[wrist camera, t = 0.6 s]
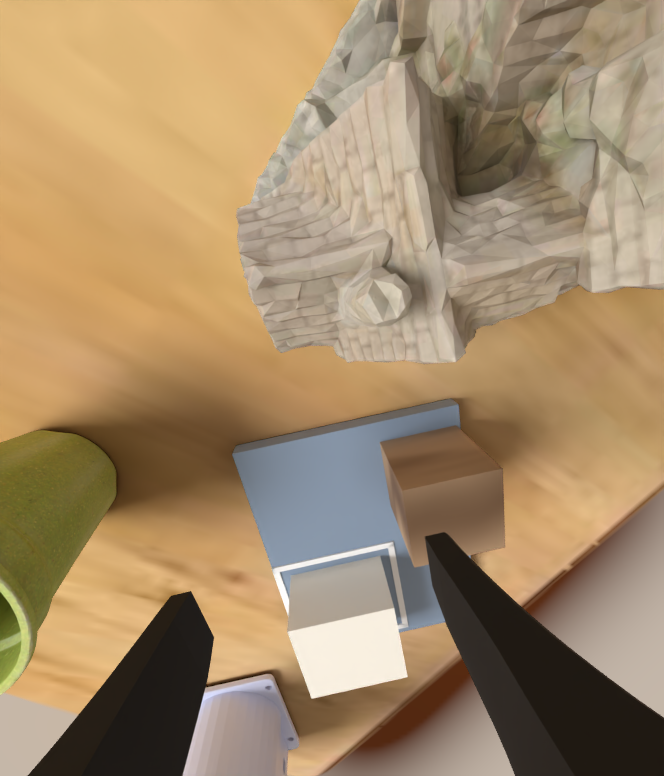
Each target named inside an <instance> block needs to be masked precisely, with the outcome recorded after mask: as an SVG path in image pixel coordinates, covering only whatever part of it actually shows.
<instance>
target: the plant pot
mask: <svg viewBox="0 0 664 776" xmlns="http://www.w3.org/2000/svg"><path fill="white" fill-rule="evenodd" d="M116 494H117V493H116V469H115V467H114V465H113V463H112V462H111V460H110V459H109V457H108V456H107V455H106V453H105V452H103V451H102V450H101V449H100V448H99V447H98V446H97V445H95V444H94V443H92V442H91V441H89V440H88V439H86V438H84V437H82V436H79V435H76V434H72V433H61V432H52V431H46V430H39V431H34V432H30V433H27V434H24V435H22V436H19V437H16V438H13V439H10V440H7V441H4V442H1V443H0V695H1V694H3V693H4V692H5V691H7V690H8V689H9V688H10V687H11V686H12V685H13V684H14V683H15V682H16V681H17V680H18V679H19V677H20V676H21V675H22V673H23V672H24V670H25V669H26V667H27V666H28V664H29V662H30V660H31V658H32V656H33V653H34V650H35V647H36V641H37V631H38V629H39V628H40V626H41V624H42V623H43V621H44V619H45V617H46V616H47V613H48V611H49V608H50V604H51V601H52V598H53V596H54V594H55V593H56V591H57V589H58V588H59V586H60V585H61V583H62V581H63V580H64V578H65V577H66V575H67V573H68V572H69V570H70V568H71V567H72V565H73V564H74V562H75V560H76V559H77V557H78V556H79V554H80V553H81V551H82V550H83V548H84V546H85V545H86V543H87V542H88V540H89V539H90V537H91V536H92V534H93V532H94V531H95V529H96V528H97V526H98V525H99V523H100V522H101V520H102V518H103V517H104V515H105V514H106V512H107V511H108V509H109V508H110V506H111V504H112V503H113V501H114V499H115V497H116Z"/></svg>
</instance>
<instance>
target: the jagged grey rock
mask: <svg viewBox="0 0 664 776" xmlns="http://www.w3.org/2000/svg"><path fill="white" fill-rule="evenodd" d="M237 221H238V224H239V228H238V235H237V238H238V245H239V253H240V255H241V263H242V266H243V269H244V272H245V273H244V277H245V278H246V279H247V283H248V289H249V295H250V297H251V299H252V301H253V303H254V304H255V305H256V306H257V308H258V311H259V313H260V315H261V317H262V319H263V321H264V324H265V326H266V328H267V331H268V332H269V334H270V336H271V338H272V341H273V343H274V345H275V348H276V349H277V350H279V351H280V352H281V353H283V352H286V351H289V350H292V349H295V348H300V347H306V346H333V347H334V350H335V352H336V355H337V356H339V357H341V358H343V359H345V360H346V361H347V363H349V362H353V361H371V362H395V361H403V360H406V361H411V362H417V363H422V364H431V363H448V362H457V361H458V360H459V359H460V358H461V357H462V356H463V355H464V354H465V353H466V352H465V348H466V346H467V344H468V343H469V342H470V341H471V340H472V339H473V338H474V336H475V333H476V329H478V328H480V327H482V326H488V325H493V324H495V323H497V322H499V321H501V320H505V319H509V318H512V317H516V316H520V315H524V314H526V313H528V312H530V311H531V310H533V309H535V308H538V307H541V306H544V305H548V304H551V303H554V302H555V300H556V298H557V295H561V294H563V293H565V292H567V291H568V290H570V289H572V288H574V287H577V286H578V285H580V286H582V287H583V288H584V289H585V290H587V291H589V292H592V293H610V292H613V291H616V290H619V289H622V288H625V287H632V288H646V289H659V290H660V289H664V0H360V1H359V2H358V4H357V6H356V8H355V10H354V12H353V13H352V15H351V17H350V19H349V20H348V21H347V23H346V24H345V25H344V27H343V28H342V29H341V31H340V34H339V37H338V39H337V41H336V43H335V45H334V47H333V49H332V52H331V54H330V56H329V58H328V59H327V61H326V63H325V65H324V67H323V68H322V70H321V72H320V74H319V76H318V77H317V79H316V81H315V84H314V87H313V89H311V90H310V91H308V92H307V93H306V96H305V99H304V100H303V101H302V102H300V103H299V104H298V105H297V108H296V111H295V114H294V117H293V120H292V123H291V125H290V127H289V129H288V130H287V131H286V133H285V134H284V135H283V137H282V139H281V141H280V143H279V145H278V148H277V151H276V153H273V155H272V156H271V158H270V159H269V162H268V165H267V167H266V169H265V170H264V172H263V173H262V175H261V176H259V177H258V179H257V184H256V188H255V191H254V194H253V197H252V201H251V204H248V205H246V206H243V207H240V208H238V209H237Z"/></svg>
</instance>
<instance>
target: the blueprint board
mask: <svg viewBox="0 0 664 776" xmlns="http://www.w3.org/2000/svg"><path fill="white" fill-rule="evenodd" d="M455 425H456V426H457V427H458V428H460V429H461V427H460V415H459V404H457V403H456V402H455V401H454V400H452V399H446V400H441V401H437V402H432V403H428V404H423V405H419V406H414V407H410V408H405V409H400V410H396V411H391V412H387V413H382V414H378V415H373V416H369V417H364V418H359V419H355V420H350V421H346V422H341V423H337V424H332V425H328V426H323V427H318V428H314V429H309V430H305V431H300V432H296V433H291V434H287V435H282V436H277V437H273V438H268V439H264V440H259V441H255V442H250V443H245V444H241V445H236V447H235V449H234V451H233V453H232V455H233V458H234V461H235V464H236V467H237V470H238V473H239V475H240V478H241V481H242V484H243V487H244V490H245V493H246V495H247V498H248V501H249V504H250V507H251V510H252V512H253V515H254V518H255V521H256V524H257V527H258V530H259V532H260V535H261V538H262V541H263V544H264V547H265V550H266V552H267V555H268V558H269V561H270V564H271V567H272V571H273V574H274V577H275V580H276V583H277V585H278V588H279V591H280V594H281V597H282V600H283V603H284V605H285V608H286V611H287V614H289V597H290V580H291V575H296V574H300V573H305V572H309V571H314V570H318V569H323V568H327V567H332V566H336V565H341V564H345V563H350V562H354V561H359V560H363V559H368V558H372V557H377V556H380V557H381V561H382V565H383V568H384V572H385V576H386V580H387V583H388V587H389V591H390V594H391V598H392V602H393V605H394V610H395V615H396V620H397V625H398V630H399V632H403V631H408V630H412V629H417V628H421V627H426V626H430V625H435V624H439V623H443V622H445V619H444V616H443V614H442V611H441V608H440V606H439V603H438V600H437V597H436V595H435V592H434V589H433V587H432V581H431V574H430V568H429V565H424V566H420V567H415V568H414V566H413V563H412V560H411V558H410V555H409V553H408V550H407V547H406V545H405V542H404V539H403V537H402V534H401V531H400V529H399V526H398V524H397V521H396V518H395V516H394V513H393V510H392V508H391V505H390V499H389V493H388V488H387V482H386V476H385V470H384V465H383V459H382V453H381V447H380V442H382V441H387V440H391V439H396V438H400V437H405V436H409V435H414V434H418V433H423V432H427V431H432V430H437V429H441V428H446V427H450V426H455ZM469 557H470V558H471V555H469Z"/></svg>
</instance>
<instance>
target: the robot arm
mask: <svg viewBox="0 0 664 776" xmlns="http://www.w3.org/2000/svg"><path fill="white" fill-rule="evenodd" d="M425 542H426V549H427V555H428V562H429V568H430V574H431V581H432V587H433V589H434V592H435V595H436V597H437V600H438V603H439V606H440V608H441V611H442V614H443V616H444V619H445V622H446V624H447V627H448V629H449V631H450V633H451V635H452V637H453V639H454V642H455V644H456V646H457V648H458V650H459V652H460V654H461V657H462V659H463V661H464V663H465V665H466V666H467V669H468V671H469V673H470V675H471V678H472V680H473V682H474V684H475V686H476V688H477V690H478V692H479V694H480V697H481V699H482V701H483V703H484V705H485V707H486V709H487V711H488V714H489V716H490V718H491V720H492V722H493V724H494V726H495V729H496V731H497V733H498V735H499V737H500V740H501V742H502V744H503V747H504V749H505V751H506V754H507V756H508V759H509V761H510V764H511V766H512V768H513V771H514V774H515V776H664V718H663V717H662V716H660V715H659V714H658V713H656V712H655V711H653V710H652V709H651V708H649V707H647V706H646V705H645V704H643V703H642V702H640V701H639V700H638V699H636V698H635V697H634V696H632V695H631V694H630V693H628V692H627V691H625V690H624V689H623V688H621V687H620V686H619V685H617V684H616V683H615V682H613V681H612V680H611V679H609V678H608V677H607V676H605V675H604V674H603V673H601V672H600V671H599V670H597V669H596V668H595V667H593V666H592V665H591V664H590V663H588V662H587V661H586V660H585V659H583V658H582V657H581V656H579V655H578V654H577V653H575V652H574V651H573V650H572V649H571V648H569V647H568V646H567V645H566V644H564V643H563V642H562V641H561V640H559V639H558V638H557V637H556V636H555V635H553V634H552V633H551V632H550V631H549V630H547V629H546V628H545V627H544V626H542V624H540V623H539V622H538V621H537V620H536V619H535V618H533V617H532V616H531V615H530V614H529V613H528V612H527V611H525V610H524V609H523V608H522V607H521V606H520V605H519V604H518V603H516V602H515V601H514V600H513V599H512V598H511V597H510V596H509V595H508V594H507V593H506V592H505V591H503V590H502V589H501V588H500V587H499V586H498V585H497V584H496V583H495V582H494V581H493V580H492V579H491V578H490V577H489V576H488V575H487V574H486V573H485V572H484V571H482V570H481V568H480V567H479V566H478V565H477V564H476V563H475V562H474V561H473V560H472V559H471V558H470V557H469V556H468V555H467V554H466V553H465V552H464V551H463V550H462V549H461V548H460V547H459V546H458V545H457V543H456V542H455V541H454V540H453V539H452V538H451V537H450V536H449V534H447V533H445V532H442V533H438V534H433V535H429V536H425ZM213 640H214V636H213V634H212V632H211V630H210V628H209V626H208V624H207V622H206V620H205V618H204V616H203V614H202V612H201V610H200V608H199V606H198V604H197V602H196V600H195V598H194V596H193V594H192V592H191V591H190V592H186V593H181V594H177V595H173V596H171V597H170V598H169V599H168V601H167V602H166V603H165V604H164V606H163V607H162V608H161V610H160V611H159V612H158V613H157V615H156V616H155V617H154V619H153V620H152V621H151V623H150V624H149V625H148V627H147V628H146V629H145V631H144V632H143V633H142V635H141V636H140V637H139V639H138V640H137V641H136V643H135V644H134V645H133V646H132V648H131V649H130V650H129V652H128V653H127V654H126V656H125V657H124V658H123V659H122V661H121V662H120V663H119V665H118V666H117V667H116V669H115V670H114V671H113V672H112V674H111V675H110V676H109V678H108V679H107V680H106V682H105V683H104V684H103V685H102V687H101V688H100V689H99V690H98V692H97V693H96V694H95V695H94V697H93V698H92V699H91V700H90V702H89V703H88V704H87V705H86V706H85V708H84V709H83V710H82V711H81V713H80V714H79V715H78V716H77V718H76V719H75V720H74V721H73V723H72V724H71V725H70V726H69V728H68V729H67V730H66V731H65V732H64V734H63V735H62V736H61V738H59V740H58V741H57V742H56V743H55V744H54V746H53V747H52V748H51V749H50V751H49V752H48V753H47V754H46V755H45V756H44V757H43V759H42V760H41V761H40V762H39V763H38V764H37V766H36V767H35V768H34V769H33V770H32V771H31V773H30V774H29V775H28V776H287V763H288V750H292V749H296V748H297V747H298V746H299V737H298V735H297V732H296V730H295V728H294V725H293V723H292V720H291V718H290V715H289V713H288V710H287V708H286V706H285V703H284V701H283V698H282V696H281V693H280V691H279V688H278V686H277V684H276V681H275V679H274V677H273V675H271V674H264V675H260V676H255V677H251V678H246V679H242V680H237V681H233V682H229V683H224V684H220V685H215V686H211V687H206V683H207V678H208V673H209V667H210V661H211V654H212V647H213ZM205 687H206V688H205Z"/></svg>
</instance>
